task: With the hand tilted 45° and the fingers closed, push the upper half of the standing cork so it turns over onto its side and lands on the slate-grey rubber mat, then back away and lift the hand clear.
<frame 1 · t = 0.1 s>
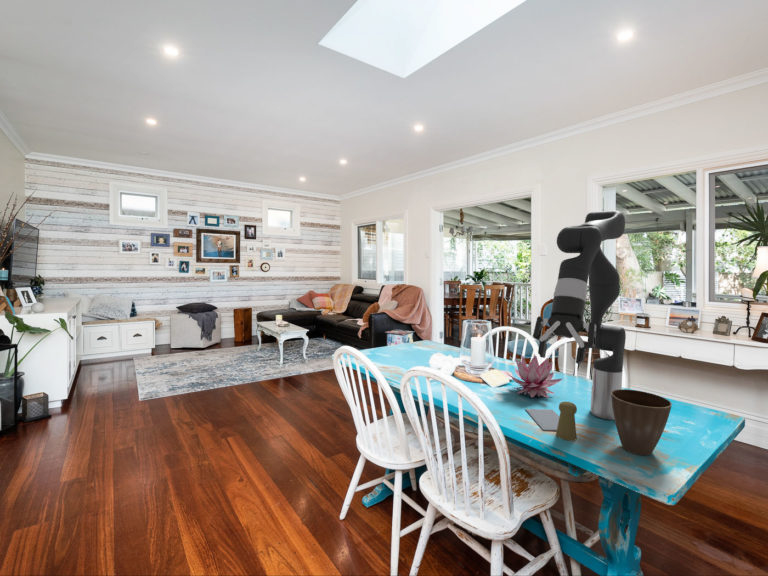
hand: (559, 360, 94), 31 cm above the table, tool tilted 20°, fingers open, 8 cm apart
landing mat: (548, 419, 133), on the table
cork: (566, 436, 121), on the table
decorative flower: (532, 394, 160), on the table
plant pot: (637, 450, 113), on the table
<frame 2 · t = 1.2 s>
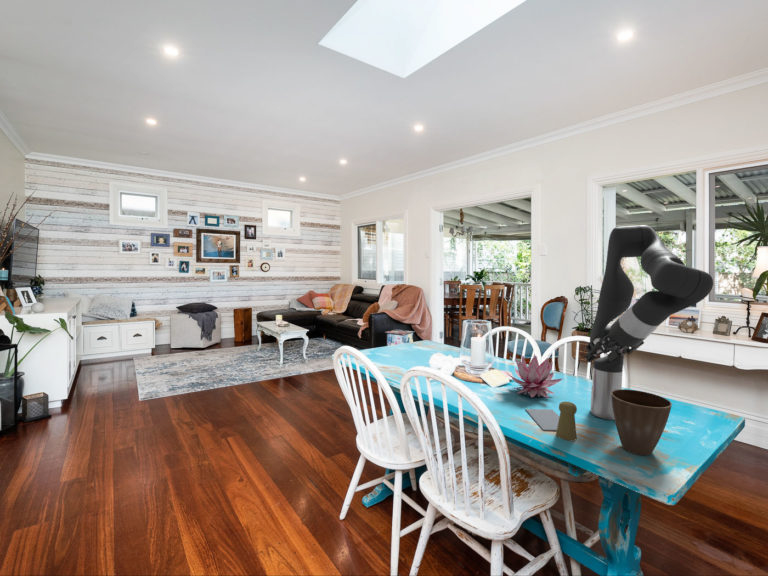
hand: (598, 359, 107), 28 cm above the table, tool tilted 45°, fingers open, 6 cm apart
nothing on the table moved.
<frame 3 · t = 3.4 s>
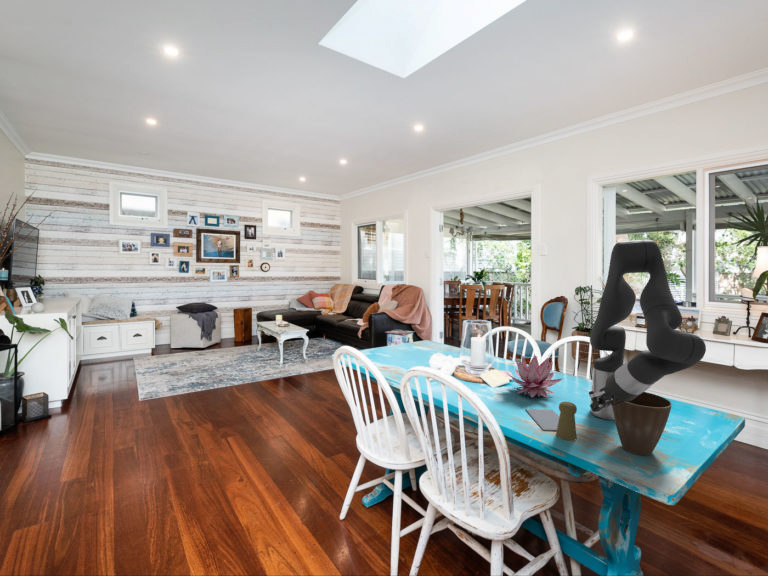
hand: (593, 408, 109), 14 cm above the table, tool tilted 45°, fingers closed
nothing on the table moved.
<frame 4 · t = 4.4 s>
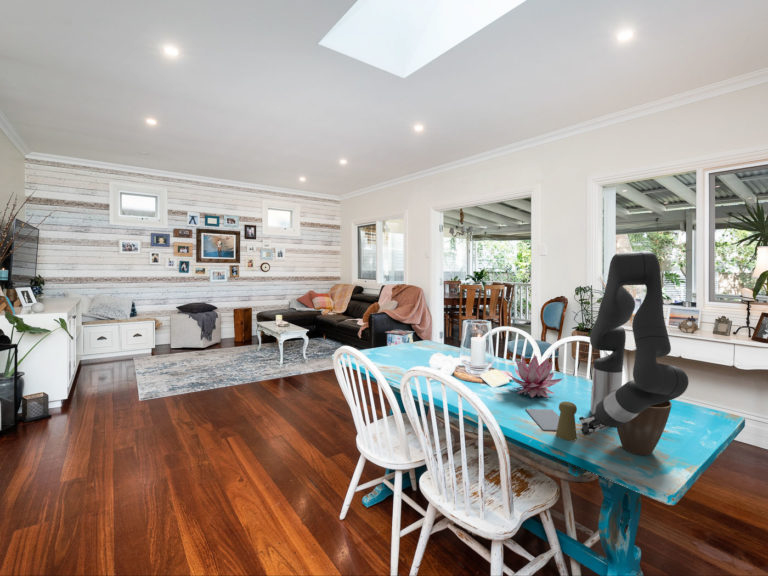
hand: (584, 432, 113), 5 cm above the table, tool tilted 45°, fingers closed
nothing on the table moved.
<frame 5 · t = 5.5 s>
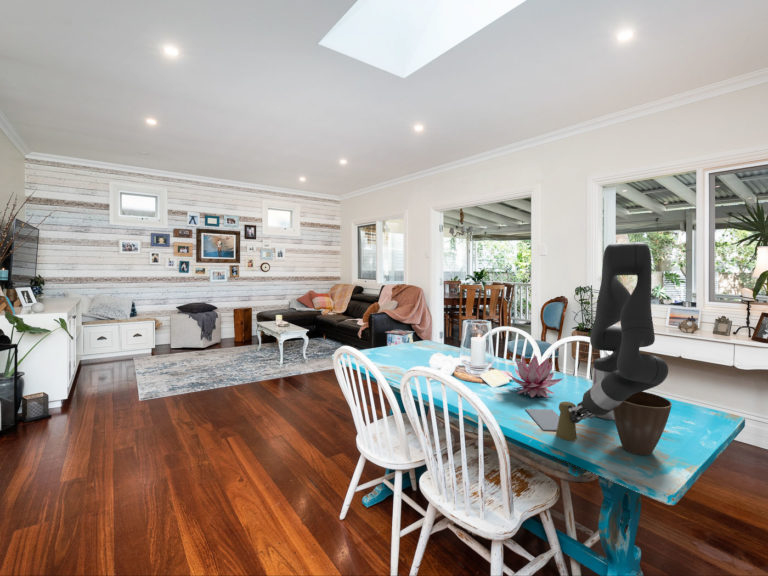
hand: (573, 420, 118), 6 cm above the table, tool tilted 45°, fingers closed
cork: (566, 436, 121), on the table, touching gripper
everything else where it was.
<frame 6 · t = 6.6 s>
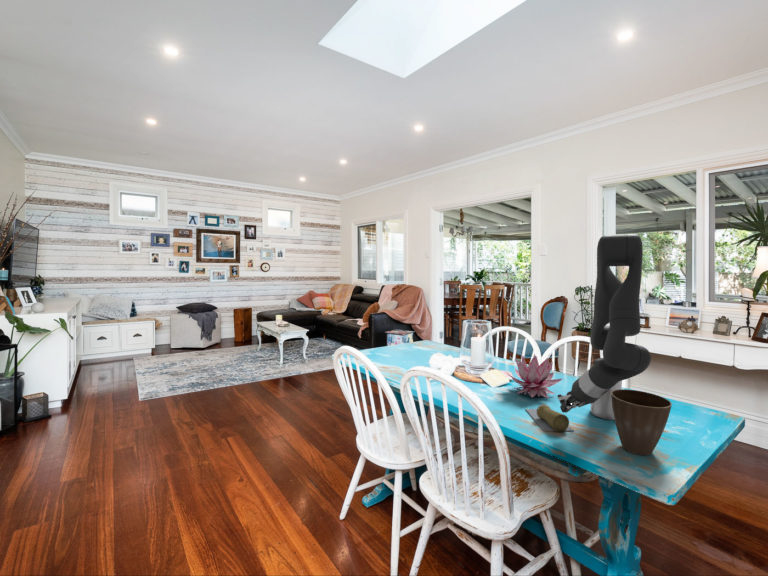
hand: (563, 409, 123), 8 cm above the table, tool tilted 45°, fingers closed
cork: (561, 423, 124), point 3 cm above the table, touching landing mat
everything else where it was.
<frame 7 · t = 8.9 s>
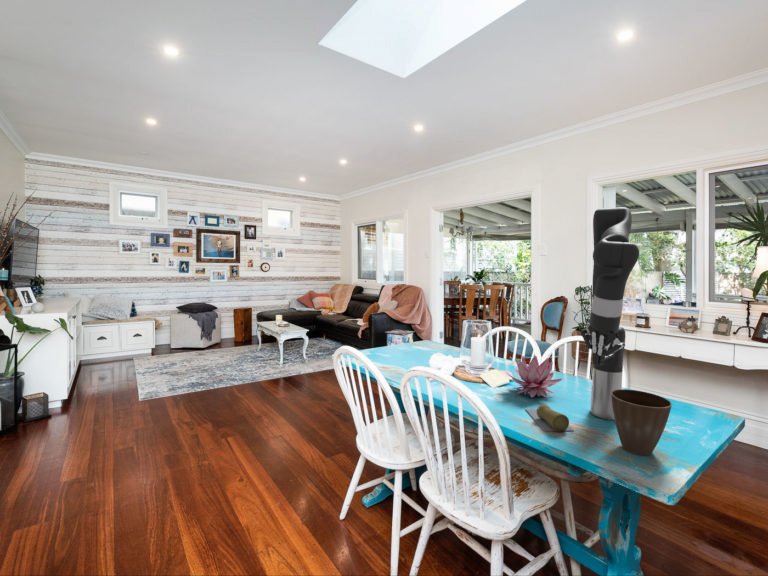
hand: (597, 364, 113), 25 cm above the table, tool tilted 15°, fingers closed
nothing on the table moved.
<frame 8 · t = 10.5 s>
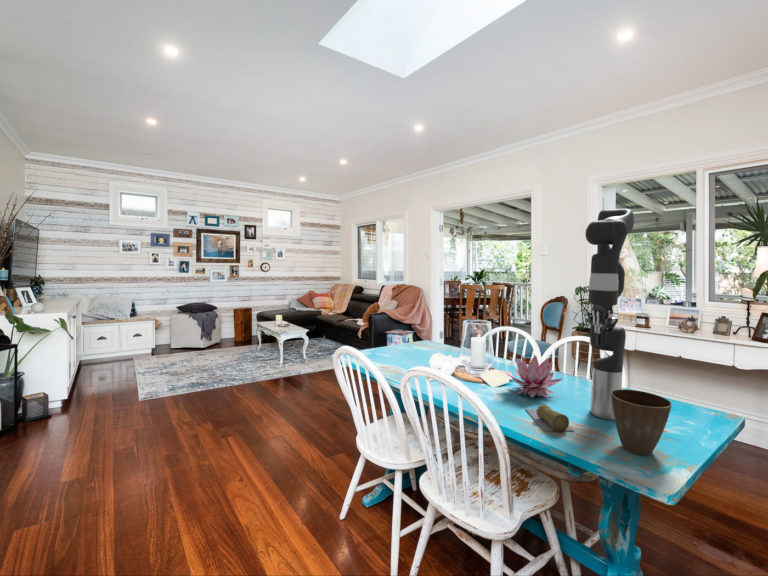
hand: (600, 345, 113), 31 cm above the table, tool pointing down, fingers closed
nothing on the table moved.
at the end: cork tilted 90°; cork touching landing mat, table; cork inside the target area (2.5 cm from its centre), point 3.0 cm above the table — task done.
